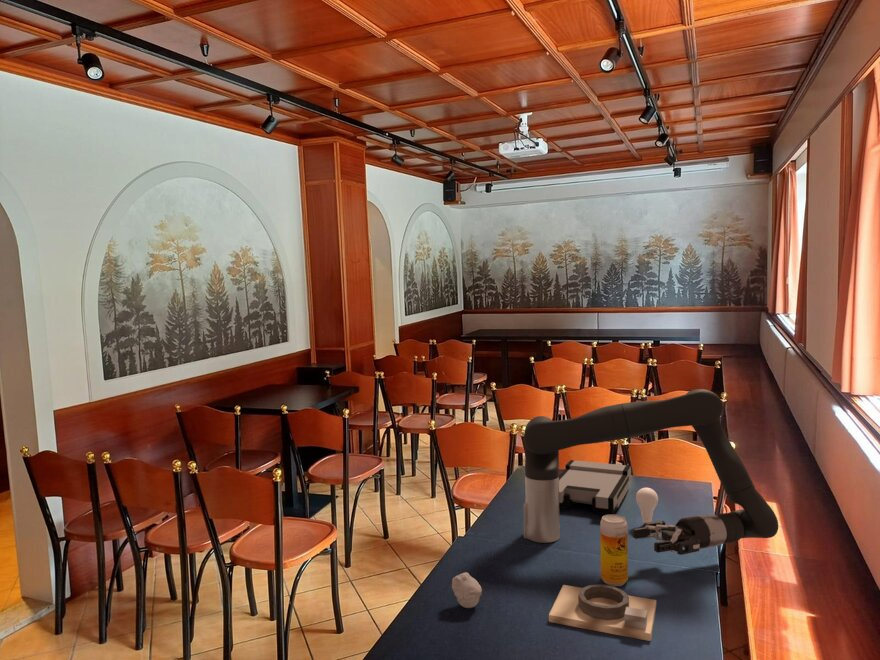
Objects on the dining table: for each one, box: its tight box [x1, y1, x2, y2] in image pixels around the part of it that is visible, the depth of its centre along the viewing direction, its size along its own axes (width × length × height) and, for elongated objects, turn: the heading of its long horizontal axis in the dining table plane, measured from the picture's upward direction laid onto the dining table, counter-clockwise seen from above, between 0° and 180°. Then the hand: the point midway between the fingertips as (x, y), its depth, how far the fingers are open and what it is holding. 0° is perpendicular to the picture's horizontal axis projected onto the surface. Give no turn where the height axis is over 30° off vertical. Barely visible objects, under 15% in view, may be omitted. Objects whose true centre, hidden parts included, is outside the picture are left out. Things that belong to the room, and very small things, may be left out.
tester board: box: [548, 583, 657, 642], centre depth 131 cm, size 20×14×4 cm
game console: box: [559, 459, 632, 515], centre depth 202 cm, size 21×32×8 cm, turn 154°
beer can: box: [599, 514, 629, 587], centre depth 145 cm, size 6×6×15 cm
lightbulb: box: [635, 487, 659, 524], centre depth 178 cm, size 6×6×11 cm
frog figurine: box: [451, 571, 483, 609], centre depth 135 cm, size 6×7×7 cm
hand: (644, 540), depth 147 cm, fingers open, 8 cm apart
